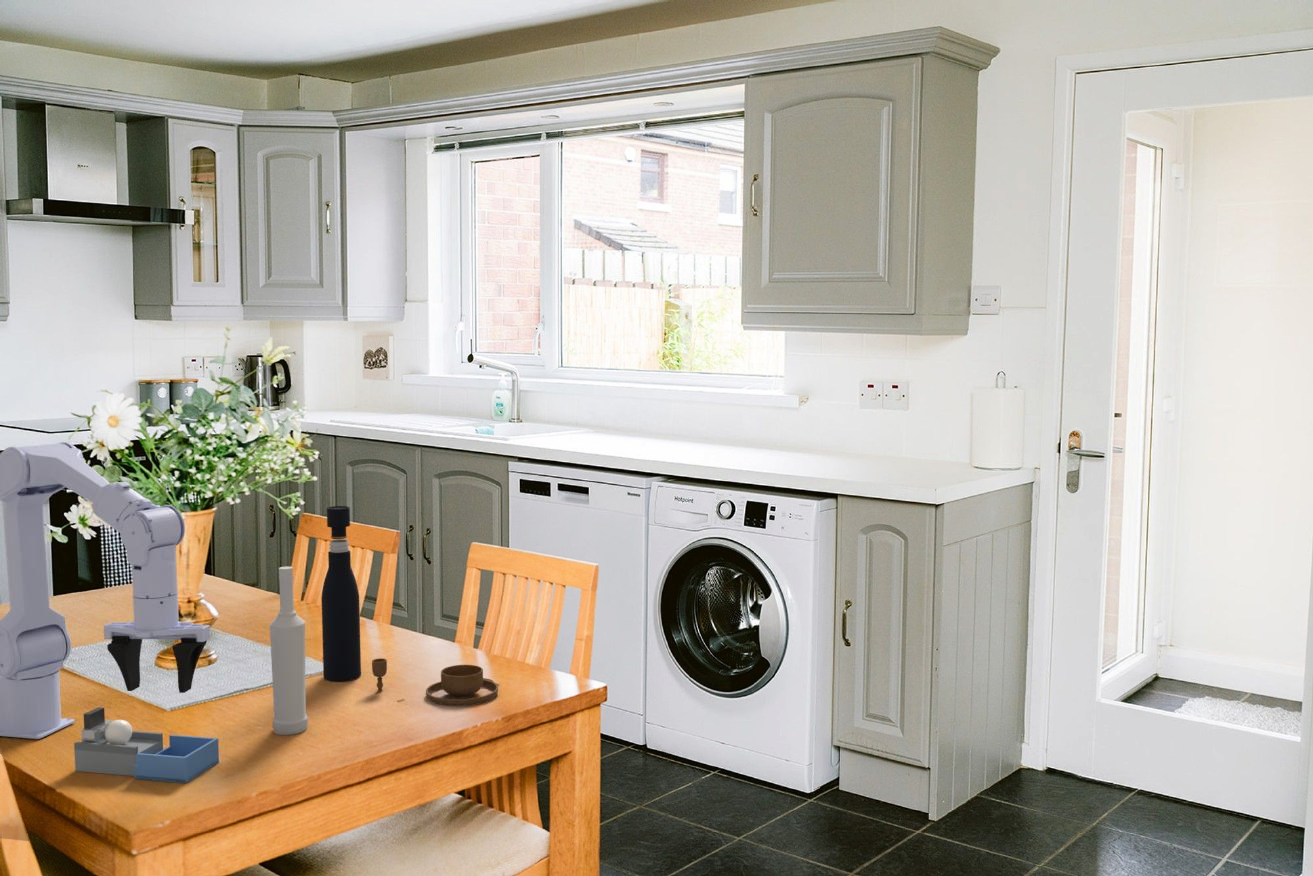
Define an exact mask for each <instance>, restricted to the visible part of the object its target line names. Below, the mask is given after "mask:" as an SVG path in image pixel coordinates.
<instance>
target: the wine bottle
mask: <svg viewBox="0 0 1313 876" xmlns="http://www.w3.org/2000/svg"><path fill="white" fill-rule="evenodd" d="M350 511H351V509H350V506H348V505H334V506H333V505H332V506H328V507H326V527H327V528H331V532H330V534H331V536H330V537H331V539H333V540H329V551H328V552H327V554H328V555H327V556H328V567H327V571H326V575H325V576H324V581H323V585H322V592H321V597H320V598H321V627H322V628H321V629H322V635H321V636H322V666H323V667H322V668H323V670H322V673H323V680H325V681H327V682H334V683H341V682H342V683H343V682H350V681H353V680H358V679H360V677H361V676H362V660H361V659H362V657H361V655H362V653H361V617H360V616H361V614H360V613H361V612H360V593H359V587H358V583H357V580H356V577H355V574H354V572H353V569H352V567H351V566H352V565H351V563H352V560H351V550H349V549H350V547H349V545H350V543H349V540H348V539H346V538H347V537H348V535H347V527H348V528H349V527H350V526H351V512H350Z"/></svg>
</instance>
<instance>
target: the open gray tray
mask: <svg viewBox="0 0 1313 876" xmlns="http://www.w3.org/2000/svg"><path fill="white" fill-rule="evenodd" d="M163 736H164V735H163V732H155V731H154V732H153V731H143V730H132V736H131V738H130V739H129V741H128V742H126V743H125V744H123V745H114V744H110V743H109V742H108V741H106V742H104V743H102V744H101V743H89V742H82V741H75V742H74V743H73V748H74V749H73V750H74V770H75V772H83V773H85V772H86V773H96V774H107V775H117V776H119V775H120V776H131V777H134V766H135V765H136V754H137V753H144V754H156V753H158V752H159V751H161V750H163V749H164V740H163V739H164V737H163Z"/></svg>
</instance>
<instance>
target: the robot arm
mask: <svg viewBox="0 0 1313 876" xmlns="http://www.w3.org/2000/svg"><path fill="white" fill-rule="evenodd" d="M65 488H67V489H68V490H70V491H71V492H73V493H75V494H77V495H79V496H80V497H82V498H84V499H85V500H87V501H89V502H91V503H92V511H93V514H94V515H95V516H96V517H98V518H99V519H100V520H101V521H103V522H104V523H106V525H109V526H110V527H112V529H114V530H116V531H117V532H119V533H120V539H121V542H122V544H123V545H124V547H125V550H126V556H127V557H126V558H127V559H126V560H127V561H128V563H129V565H131V577H132V601H133V621H128V622H127V621H125V622H109V623H107V624H105V625H103V637H104V640H111V641H110V643H108V644H107V645H106V646H107V647H106V648H107V651H108V652H109V654H110V655H111V656H112V658H113V659H114V661H115V662H116V664H117V667H118V668H119V670H120V673H121V676H122V678H123V681H124V683H125V688H126V691H127V692H133V691H135V690H136V689H138V688H140V685H141V667H140V666H141V665H140V661H141V660H140V658H141V651H142V643H143V640H170V641H171V640H172V641H173V640H174V641H180V642H178V643H176V644H174V645H172V648H171V649H172V651H173V655H174V657H175V658H174V659H175V665H176V668H177V688H178V691H179V692H178V693H179V694H181V693H182V694H184V693H187V692H188V691H189V690H191V689H192V686H193V685H192V684H193V680H194V674H195V670H196V667H197V664H198V662H199V659H200V657H201V655H202V652H203V651H204V649H205V646H206V645H207V641H208V640H209V639H211V629H210V628H211V626H210V624H199V623H192V622H185V621H179V619H180V618H179V617H180V616H179V598H178V595H179V592H178V573H177V572H178V568H177V566H178V565H177V564H178V563H177V546H178V545H180V544H181V542H182V541H184V540H183V539H184V537H185V531H186V525H185V521H184V518H183V515H182V514H181V512H180V511H179V510H178V509H176V508H175V506H173V505H172V504H165V505H159V504H157V505H156V504H154V503H153V502H152V500H150V499H149V498H145V497H144V496H143V495H141V494H140V493H138V492H137V491H135V490H134V489H132V485H131V484H130V483H129V482H127V481H121V482H119V481H113V482H109V481H108V480H107V479H105V478H104V477H103V476H102V475H101V474H99V473H98V472H97V471H96V470H95V469H94V468H92V467H91V466H90V465H89V464H87V463H86V462H85V461H84V455H83V452H82V450H81V449H80V448H77V447H76V446H74V444H72V443H70V442H67V441H63V442H62V441H61V442H59V443H51V444H49V443H48V444H39V445H32V446H31V445H30V446H29V445H28V446H20V447H18V446H17V447H16V446H8V447H6V448H5V449H4V450H3V451H2V452H1V453H0V501H1V503H2V504H1V505H2V517H3V529H4V545H5V559H6V571H7V573H6V574H7V584H8V585H7V586H8V596H9V597H8V598H9V599H8V600H9V601H8V602H9V611H7V613H5V615H4V616H3V617H1V619H0V737H11V738H22V739H31V740H32V739H34V740H38V739H42V738H44V737H47V736H48V735H51V734H53V733H54V732H57V731H60V730H62V729H63V728H65V727H68V726H70V725H72V724H74V723H75V722H76V721H75V719H74V718H62V711H61V710H62V707H61V689H60V688H61V685H60V670H61V669H64V662H66V661H67V660H68V659H69V657H70V654H71V651H72V638H71V636H70V634H69V632H68V627H67V624H66V617H65V616H64V615H63V614H62V613H60V612H58V611H56V610H54V609H53V608H52V607H51V606H50V594H49V582H48V568H47V566H48V565H47V555H46V554H47V553H46V539H45V527H44V526H45V524H44V511H43V505H44V504H45V503H46V502H47V501H48V500H49V499H50V497H52V495H53V494H56V493H58V492H59V491H61V490H63V489H65Z"/></svg>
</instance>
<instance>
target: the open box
mask: <svg viewBox="0 0 1313 876" xmlns="http://www.w3.org/2000/svg"><path fill="white" fill-rule="evenodd" d="M168 737H169V745H168V746H167V747H165V748H163V750H161V751H159V752H158V753H156V754H144V753H137V754H136V765H135V766H134V776H133V777H134V779H135V780H143V781H144V780H145V781H153V782H166V783H167V782H168V783H176V784H177V783H178V784H187V783H189V782H191V781H192V780H194V779H195V778H197V777H199V776H200V775H202V774H203V773H205V772H206V771H208V770H210V769H212V768H213V767H214V766H215V765H217V764H219V763H220V756H219V755H220V752H219V749H220V748H219V738H218V737H217V738H216V737H206V736H196V735H195V736H192V735H182V734H181V735H179V734H170V735H168Z"/></svg>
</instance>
